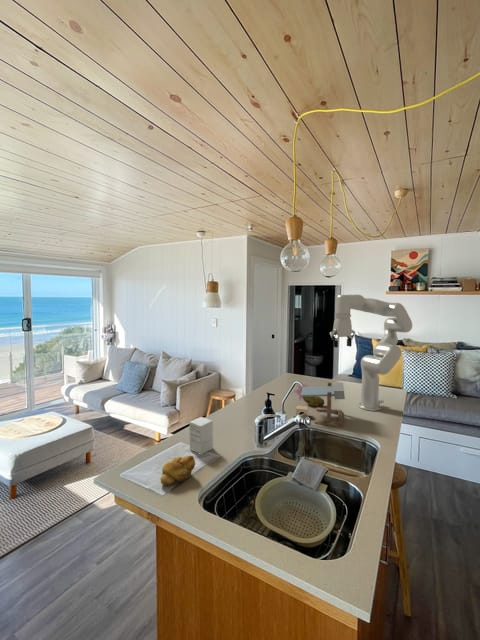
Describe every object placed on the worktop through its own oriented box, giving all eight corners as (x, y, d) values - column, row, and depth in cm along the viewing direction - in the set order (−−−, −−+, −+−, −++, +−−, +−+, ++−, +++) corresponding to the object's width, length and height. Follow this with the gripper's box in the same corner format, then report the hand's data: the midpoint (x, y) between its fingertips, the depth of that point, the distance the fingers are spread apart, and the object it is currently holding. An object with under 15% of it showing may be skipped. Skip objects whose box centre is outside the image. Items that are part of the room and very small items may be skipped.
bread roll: (167, 492, 104) (167, 469, 103) (152, 480, 111) (152, 459, 110) (197, 477, 113) (197, 456, 112) (182, 466, 120) (182, 446, 119)
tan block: (308, 406, 173) (297, 405, 175) (307, 409, 168) (296, 408, 170) (307, 415, 173) (297, 414, 175) (306, 418, 168) (295, 417, 170)
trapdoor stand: (341, 411, 178) (342, 383, 177) (342, 426, 157) (343, 394, 156) (316, 409, 182) (317, 381, 181) (314, 423, 161) (315, 391, 160)
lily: (290, 400, 201) (293, 389, 196) (295, 389, 210) (298, 379, 205) (307, 408, 197) (311, 397, 192) (312, 396, 206) (316, 386, 201)
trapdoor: (343, 390, 174) (342, 382, 174) (344, 399, 159) (344, 390, 159) (303, 391, 181) (302, 384, 181) (300, 399, 165) (300, 391, 165)
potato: (319, 409, 182) (319, 396, 181) (300, 404, 190) (300, 391, 190) (325, 405, 188) (325, 393, 187) (306, 401, 197) (307, 388, 196)
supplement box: (201, 443, 139) (201, 416, 138) (213, 448, 134) (213, 420, 133) (189, 449, 133) (188, 421, 132) (201, 455, 128) (200, 426, 127)
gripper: (350, 316, 180) (349, 345, 181) (326, 316, 174) (325, 346, 175) (359, 316, 173) (359, 346, 174) (335, 317, 167) (334, 348, 168)
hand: (342, 346), depth 175 cm, fingers open, 9 cm apart
